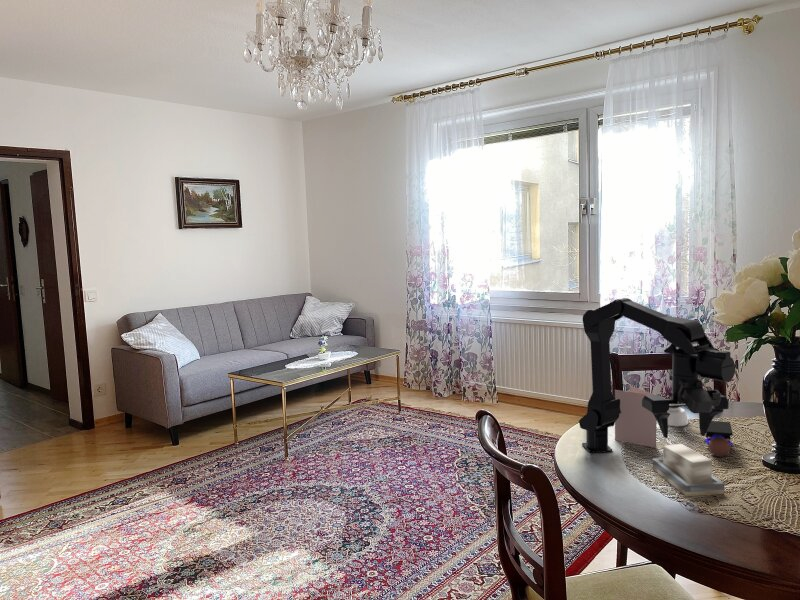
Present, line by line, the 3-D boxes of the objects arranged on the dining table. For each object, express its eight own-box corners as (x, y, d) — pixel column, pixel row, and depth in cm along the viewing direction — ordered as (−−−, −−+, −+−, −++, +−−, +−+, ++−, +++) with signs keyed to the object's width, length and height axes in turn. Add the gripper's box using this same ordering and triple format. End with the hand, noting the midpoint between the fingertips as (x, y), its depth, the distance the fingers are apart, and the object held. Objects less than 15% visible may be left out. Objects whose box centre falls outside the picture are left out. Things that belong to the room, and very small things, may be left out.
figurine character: (702, 443, 169) (705, 456, 155) (703, 417, 169) (705, 428, 155) (729, 446, 166) (734, 460, 152) (730, 419, 166) (735, 430, 152)
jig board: (652, 468, 150) (652, 458, 150) (686, 466, 150) (686, 456, 150) (686, 496, 134) (686, 486, 134) (724, 493, 135) (724, 483, 134)
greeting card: (658, 447, 164) (659, 395, 162) (636, 451, 161) (636, 398, 160) (631, 434, 174) (632, 385, 173) (610, 437, 172) (610, 388, 171)
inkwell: (681, 416, 188) (681, 386, 187) (706, 436, 170) (707, 403, 169) (651, 417, 189) (652, 387, 187) (674, 437, 171) (674, 403, 170)
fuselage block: (663, 468, 147) (663, 445, 146) (680, 466, 148) (681, 443, 147) (692, 487, 136) (692, 462, 136) (711, 484, 137) (712, 460, 136)
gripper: (664, 384, 131) (663, 451, 133) (745, 380, 132) (742, 446, 134) (641, 372, 142) (640, 434, 144) (715, 368, 143) (714, 430, 145)
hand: (684, 436), depth 141 cm, fingers open, 9 cm apart
